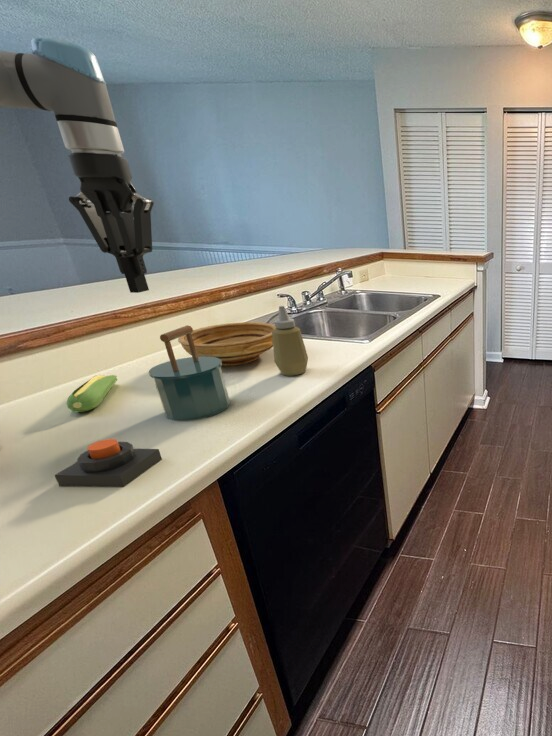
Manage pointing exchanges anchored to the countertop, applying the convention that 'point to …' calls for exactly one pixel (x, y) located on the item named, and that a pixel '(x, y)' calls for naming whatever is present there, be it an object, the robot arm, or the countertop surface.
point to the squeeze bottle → (288, 346)
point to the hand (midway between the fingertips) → (139, 291)
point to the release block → (109, 468)
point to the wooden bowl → (231, 341)
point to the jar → (193, 396)
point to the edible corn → (91, 393)
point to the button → (103, 448)
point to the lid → (183, 359)
